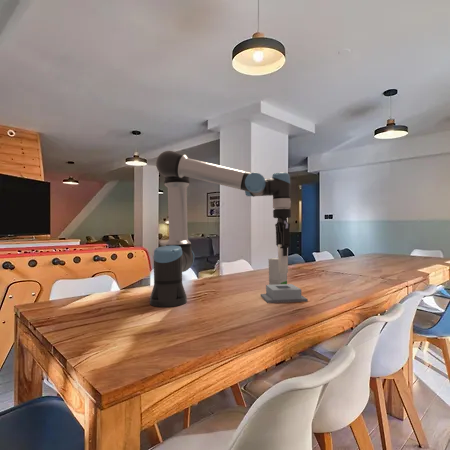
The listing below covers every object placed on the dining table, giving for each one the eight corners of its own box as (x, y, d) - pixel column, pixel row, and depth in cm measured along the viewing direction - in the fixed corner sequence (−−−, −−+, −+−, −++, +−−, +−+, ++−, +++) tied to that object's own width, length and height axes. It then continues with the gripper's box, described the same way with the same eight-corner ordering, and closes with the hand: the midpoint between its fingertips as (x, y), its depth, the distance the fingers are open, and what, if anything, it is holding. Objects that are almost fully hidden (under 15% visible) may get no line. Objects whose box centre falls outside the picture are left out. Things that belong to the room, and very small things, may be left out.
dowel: (280, 273, 129) (279, 245, 129) (277, 271, 133) (276, 244, 133) (289, 272, 129) (288, 244, 129) (286, 271, 133) (285, 244, 133)
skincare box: (280, 292, 144) (279, 259, 144) (267, 290, 148) (267, 258, 148) (287, 289, 151) (287, 257, 151) (276, 287, 155) (275, 257, 155)
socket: (267, 303, 124) (267, 290, 124) (260, 296, 136) (260, 284, 136) (307, 301, 126) (307, 289, 126) (297, 294, 138) (296, 283, 138)
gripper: (297, 207, 123) (298, 265, 123) (284, 209, 140) (285, 260, 140) (279, 207, 122) (280, 265, 122) (268, 210, 139) (269, 261, 139)
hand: (283, 262), depth 131 cm, fingers closed on dowel, 4 cm apart
